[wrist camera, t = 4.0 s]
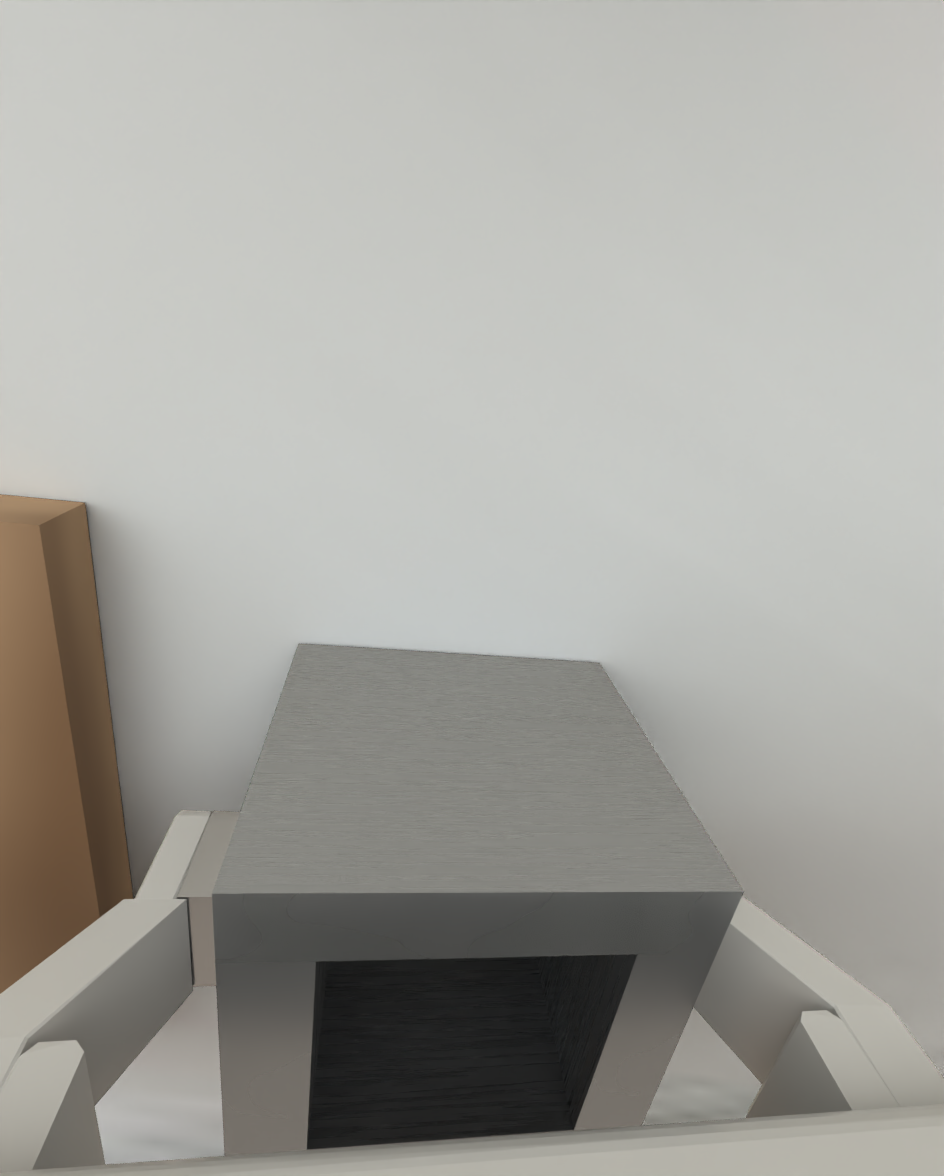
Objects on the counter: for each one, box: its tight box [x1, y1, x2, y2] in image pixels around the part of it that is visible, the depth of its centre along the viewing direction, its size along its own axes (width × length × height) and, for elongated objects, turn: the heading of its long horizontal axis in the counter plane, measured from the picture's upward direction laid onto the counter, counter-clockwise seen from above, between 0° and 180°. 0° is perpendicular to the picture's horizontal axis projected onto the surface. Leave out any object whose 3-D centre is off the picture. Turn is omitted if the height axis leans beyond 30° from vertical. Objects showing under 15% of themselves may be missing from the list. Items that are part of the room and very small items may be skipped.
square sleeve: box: [212, 644, 744, 1156], centre depth 9 cm, size 6×6×5 cm
